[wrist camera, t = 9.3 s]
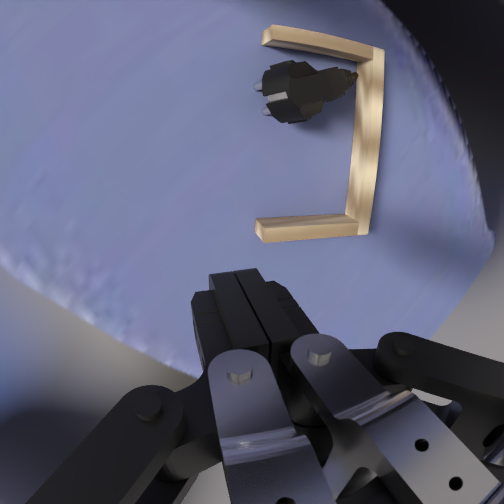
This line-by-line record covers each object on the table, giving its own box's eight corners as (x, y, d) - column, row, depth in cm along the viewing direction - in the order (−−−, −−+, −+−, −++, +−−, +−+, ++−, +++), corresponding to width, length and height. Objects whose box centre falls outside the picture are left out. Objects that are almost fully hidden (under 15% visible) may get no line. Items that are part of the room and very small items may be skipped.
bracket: (262, 31, 25) (272, 24, 22) (367, 52, 28) (384, 50, 26) (255, 232, 34) (264, 242, 31) (353, 225, 37) (367, 234, 34)
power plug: (368, 98, 30) (325, 124, 22) (309, 106, 35) (250, 135, 27) (355, 49, 27) (305, 54, 20) (295, 62, 32) (229, 77, 25)
